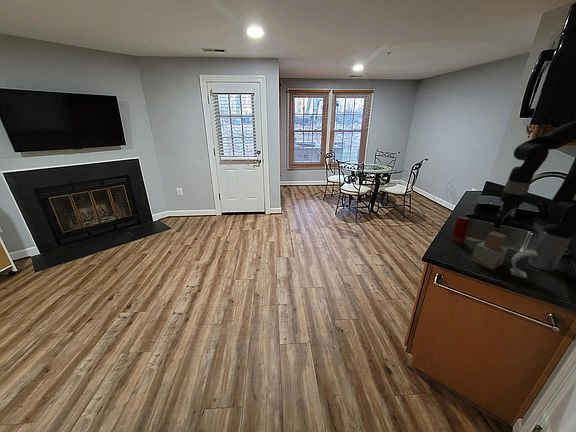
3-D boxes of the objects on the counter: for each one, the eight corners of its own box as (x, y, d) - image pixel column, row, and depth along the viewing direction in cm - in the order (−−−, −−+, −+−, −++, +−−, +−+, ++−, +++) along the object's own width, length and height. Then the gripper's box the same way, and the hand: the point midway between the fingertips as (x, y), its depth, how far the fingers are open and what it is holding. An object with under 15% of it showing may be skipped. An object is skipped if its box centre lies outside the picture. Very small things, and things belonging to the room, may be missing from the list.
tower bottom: (480, 256, 120) (483, 248, 118) (501, 265, 112) (504, 257, 111) (470, 260, 116) (473, 252, 114) (491, 270, 108) (495, 261, 107)
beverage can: (465, 244, 130) (474, 220, 125) (452, 243, 131) (460, 218, 126) (460, 239, 136) (468, 215, 130) (448, 238, 137) (455, 214, 131)
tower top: (482, 248, 118) (485, 240, 116) (504, 257, 111) (508, 249, 109) (472, 252, 114) (476, 244, 112) (494, 262, 107) (498, 253, 105)
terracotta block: (488, 243, 114) (493, 231, 111) (501, 247, 110) (506, 235, 107) (483, 245, 112) (488, 233, 109) (496, 250, 108) (501, 237, 105)
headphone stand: (526, 278, 103) (538, 255, 98) (508, 273, 106) (519, 250, 101) (524, 273, 106) (535, 250, 101) (507, 268, 109) (517, 246, 105)
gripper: (518, 196, 94) (503, 232, 101) (533, 192, 100) (518, 226, 107) (496, 191, 101) (483, 225, 107) (512, 187, 107) (499, 220, 113)
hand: (501, 225), depth 107 cm, fingers open, 8 cm apart
